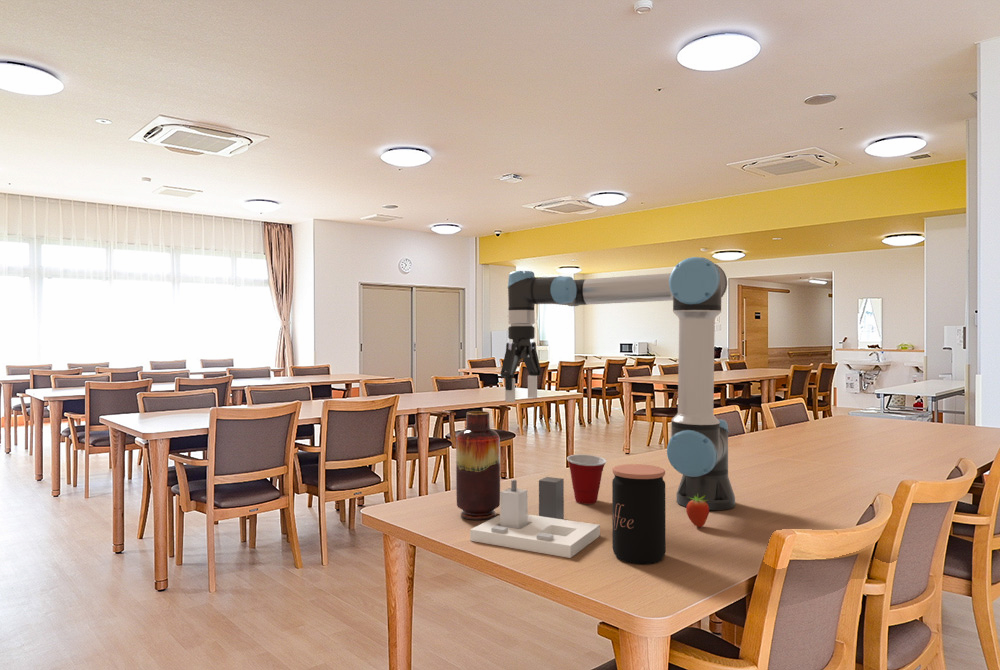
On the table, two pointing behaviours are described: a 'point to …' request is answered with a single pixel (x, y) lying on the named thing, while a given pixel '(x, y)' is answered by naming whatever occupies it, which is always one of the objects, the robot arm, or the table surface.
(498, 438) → the vase
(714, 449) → the robot arm
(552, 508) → the dark grey block
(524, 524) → the white peg board
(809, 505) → the table surface
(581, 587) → the table surface
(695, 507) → the fruit
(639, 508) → the coffee jar
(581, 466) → the plastic cup
